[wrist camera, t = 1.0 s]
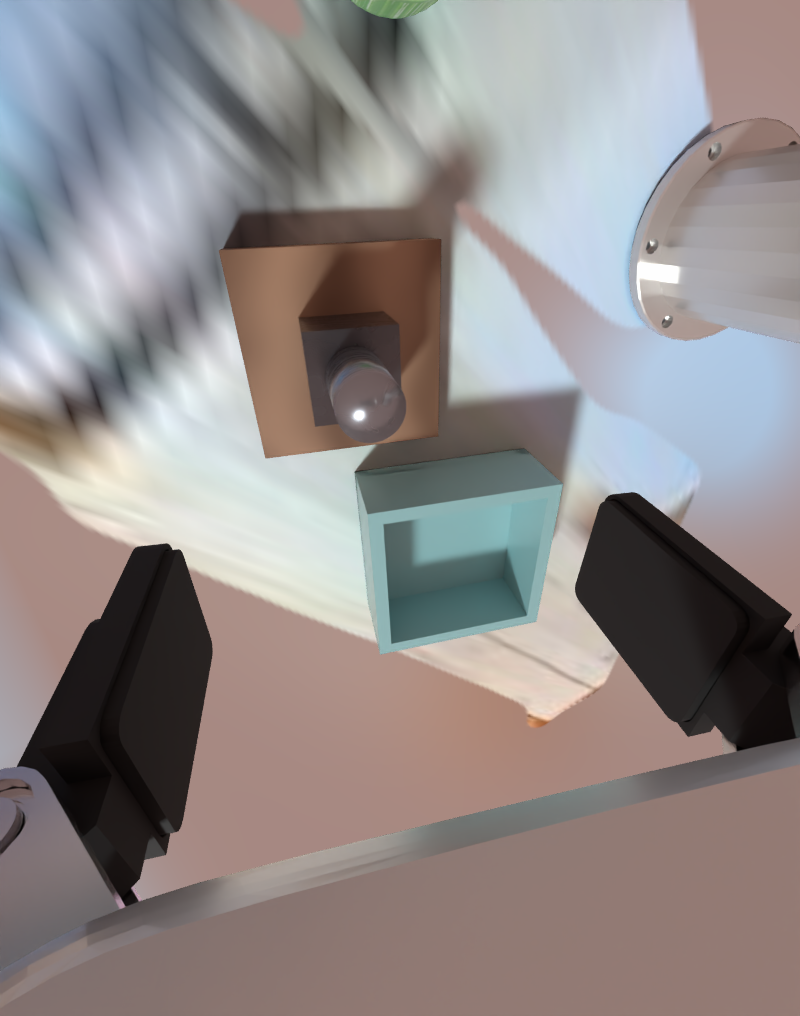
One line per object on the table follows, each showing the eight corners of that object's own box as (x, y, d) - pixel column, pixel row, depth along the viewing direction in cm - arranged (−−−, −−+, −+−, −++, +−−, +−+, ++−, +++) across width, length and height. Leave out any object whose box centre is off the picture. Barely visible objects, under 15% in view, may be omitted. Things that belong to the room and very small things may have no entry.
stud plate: (431, 238, 26) (457, 240, 23) (430, 425, 33) (450, 453, 29) (222, 248, 24) (212, 253, 20) (266, 446, 31) (264, 478, 27)
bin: (524, 448, 36) (562, 483, 31) (507, 576, 44) (536, 621, 39) (354, 471, 34) (367, 514, 29) (368, 603, 41) (380, 654, 36)
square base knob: (383, 311, 26) (425, 346, 19) (387, 393, 29) (426, 453, 21) (298, 317, 25) (306, 357, 18) (310, 401, 28) (322, 467, 21)
